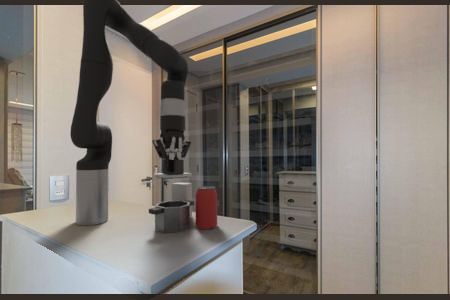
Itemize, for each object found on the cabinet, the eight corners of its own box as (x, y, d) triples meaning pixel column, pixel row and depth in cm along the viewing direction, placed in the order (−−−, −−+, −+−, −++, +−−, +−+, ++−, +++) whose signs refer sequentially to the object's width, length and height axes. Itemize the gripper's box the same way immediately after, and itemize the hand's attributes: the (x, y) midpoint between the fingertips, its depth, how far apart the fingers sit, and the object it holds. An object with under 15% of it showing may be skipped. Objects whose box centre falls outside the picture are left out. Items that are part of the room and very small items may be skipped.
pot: (141, 230, 66) (141, 206, 66) (180, 218, 78) (180, 198, 78) (163, 238, 60) (163, 211, 60) (202, 224, 72) (202, 201, 72)
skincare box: (192, 216, 81) (192, 182, 81) (186, 219, 76) (186, 184, 77) (177, 215, 82) (177, 182, 83) (170, 218, 78) (171, 183, 79)
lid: (146, 176, 68) (146, 159, 68) (175, 174, 77) (175, 158, 77) (170, 179, 61) (170, 160, 61) (199, 176, 70) (199, 159, 70)
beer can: (214, 230, 65) (214, 189, 66) (192, 229, 67) (192, 188, 67) (219, 223, 72) (219, 186, 72) (199, 222, 73) (199, 185, 73)
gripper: (181, 119, 77) (181, 170, 77) (145, 113, 66) (145, 173, 66) (197, 117, 73) (197, 171, 72) (162, 110, 61) (161, 174, 61)
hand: (172, 172), depth 69 cm, fingers closed on lid
